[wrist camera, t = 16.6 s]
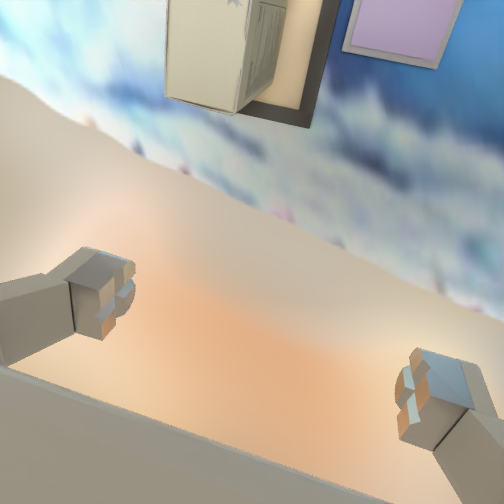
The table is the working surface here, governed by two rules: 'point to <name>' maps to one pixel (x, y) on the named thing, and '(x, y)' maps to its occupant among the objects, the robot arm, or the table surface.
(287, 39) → the framed board
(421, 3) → the pad
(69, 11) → the table surface
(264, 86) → the skincare box
